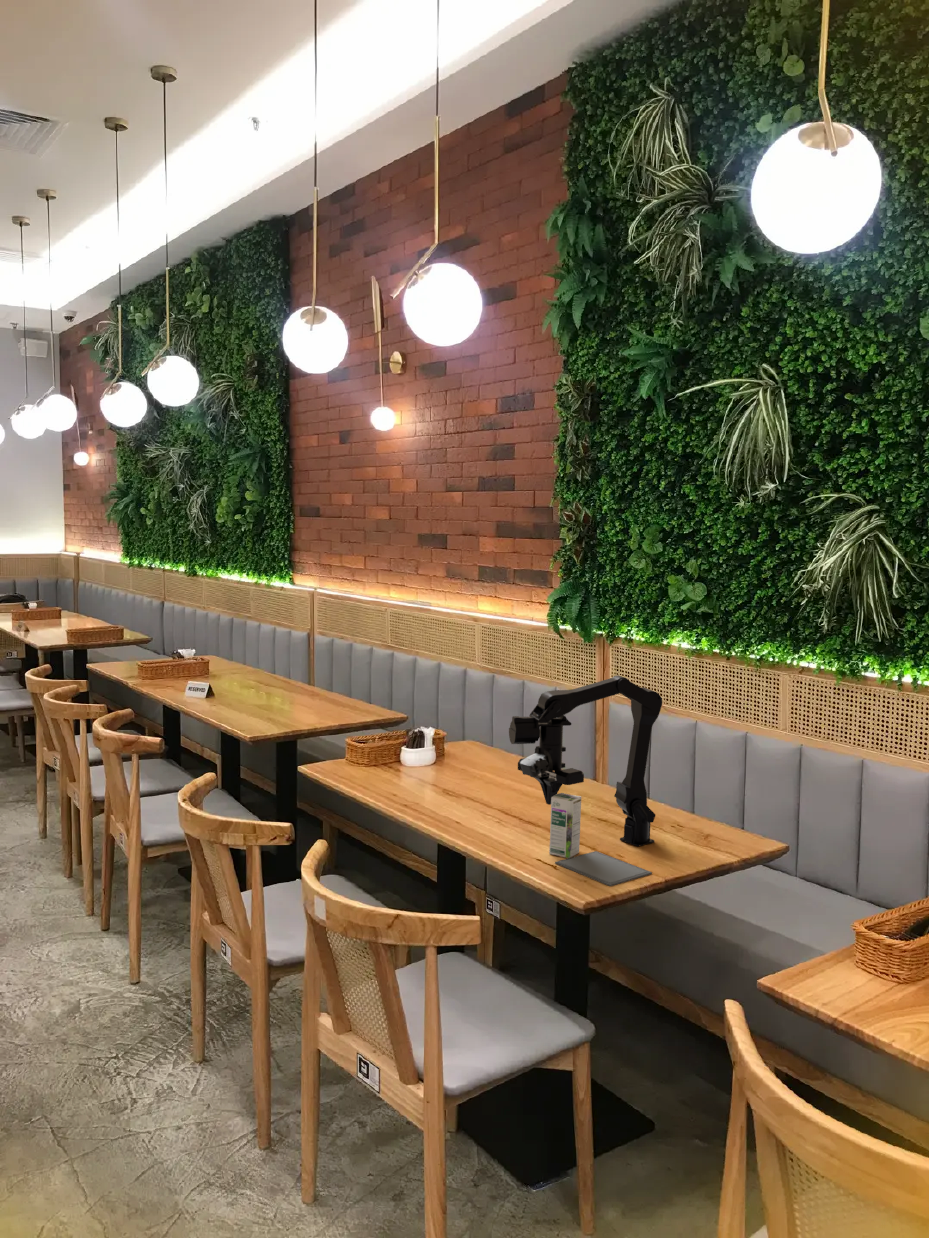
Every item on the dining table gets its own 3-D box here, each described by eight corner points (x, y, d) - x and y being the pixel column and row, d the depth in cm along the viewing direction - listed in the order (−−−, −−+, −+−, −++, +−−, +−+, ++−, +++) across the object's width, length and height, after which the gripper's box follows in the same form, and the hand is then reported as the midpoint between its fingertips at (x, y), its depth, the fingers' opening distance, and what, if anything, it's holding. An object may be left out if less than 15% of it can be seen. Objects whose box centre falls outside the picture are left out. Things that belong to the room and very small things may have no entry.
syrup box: (548, 854, 235) (550, 796, 234) (559, 847, 240) (561, 791, 239) (569, 859, 232) (571, 800, 231) (580, 852, 237) (582, 795, 235)
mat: (596, 852, 237) (596, 850, 237) (651, 873, 223) (652, 871, 223) (554, 863, 228) (554, 861, 228) (610, 886, 214) (610, 884, 214)
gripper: (502, 739, 241) (500, 800, 242) (552, 754, 226) (550, 818, 227) (535, 734, 247) (533, 793, 249) (586, 748, 233) (584, 811, 234)
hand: (549, 804), depth 240 cm, fingers closed
